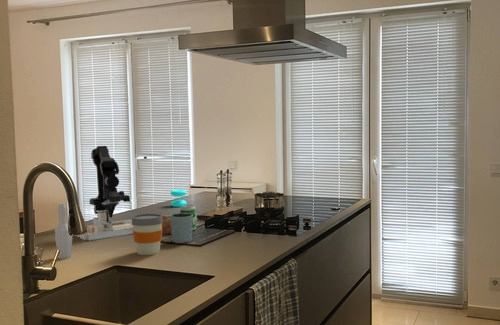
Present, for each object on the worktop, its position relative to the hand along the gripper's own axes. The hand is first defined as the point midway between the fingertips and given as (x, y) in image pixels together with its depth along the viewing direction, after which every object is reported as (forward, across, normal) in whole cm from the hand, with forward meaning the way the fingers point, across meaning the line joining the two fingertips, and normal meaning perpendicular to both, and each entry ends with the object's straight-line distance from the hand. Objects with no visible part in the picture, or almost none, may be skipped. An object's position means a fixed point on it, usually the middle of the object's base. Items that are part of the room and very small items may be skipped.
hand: (110, 217), depth 262 cm
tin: (+8, +20, -19) cm, 29 cm away
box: (+7, -10, 0) cm, 13 cm away
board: (+8, +4, 0) cm, 8 cm away
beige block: (+5, -6, -3) cm, 8 cm away
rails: (+8, 0, 0) cm, 8 cm away
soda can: (+8, +31, -22) cm, 39 cm away
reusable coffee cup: (+8, -5, -50) cm, 50 cm away
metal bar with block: (+4, -4, 0) cm, 6 cm away
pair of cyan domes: (+8, +66, +48) cm, 82 cm away
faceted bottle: (+8, -34, -34) cm, 49 cm away
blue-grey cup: (+8, +16, -41) cm, 45 cm away
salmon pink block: (+7, -7, +3) cm, 11 cm away
